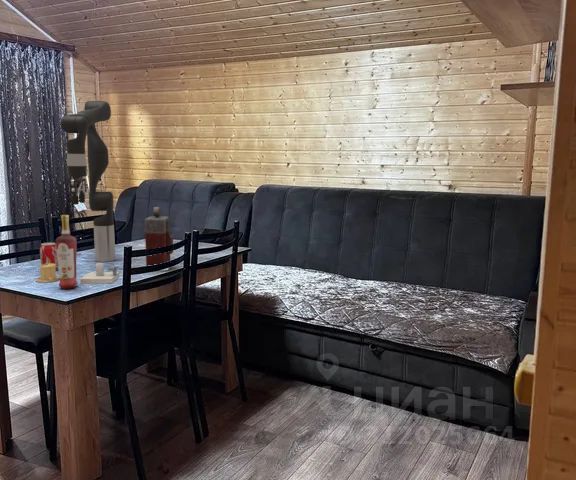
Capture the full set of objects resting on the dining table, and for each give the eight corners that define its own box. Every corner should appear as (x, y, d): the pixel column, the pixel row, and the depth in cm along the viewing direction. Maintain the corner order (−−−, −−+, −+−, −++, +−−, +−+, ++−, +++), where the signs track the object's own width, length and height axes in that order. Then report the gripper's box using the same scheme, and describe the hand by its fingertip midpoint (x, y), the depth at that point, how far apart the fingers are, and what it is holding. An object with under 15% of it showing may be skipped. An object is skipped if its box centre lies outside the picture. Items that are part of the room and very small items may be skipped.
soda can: (52, 272, 225) (50, 245, 223) (37, 271, 226) (35, 244, 224) (62, 269, 232) (60, 242, 230) (48, 268, 233) (46, 242, 231)
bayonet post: (89, 276, 218) (89, 260, 217) (119, 276, 219) (119, 260, 218) (80, 283, 206) (79, 266, 205) (112, 283, 207) (111, 266, 206)
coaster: (41, 277, 216) (41, 276, 216) (63, 277, 216) (63, 275, 216) (32, 282, 207) (32, 281, 207) (55, 282, 208) (55, 281, 208)
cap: (54, 276, 216) (53, 262, 215) (58, 279, 210) (57, 265, 209) (39, 278, 212) (38, 263, 211) (43, 281, 206) (42, 267, 205)
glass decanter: (171, 271, 230) (170, 208, 226) (146, 270, 230) (144, 207, 225) (175, 266, 239) (174, 206, 234) (151, 266, 239) (149, 205, 234)
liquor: (81, 285, 204) (78, 214, 199) (74, 290, 196) (70, 216, 192) (63, 285, 204) (59, 214, 199) (54, 289, 196) (50, 216, 192)
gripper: (80, 165, 210) (82, 205, 213) (91, 164, 224) (93, 202, 227) (61, 165, 210) (64, 205, 212) (73, 164, 224) (75, 202, 226)
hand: (79, 203), depth 219 cm, fingers open, 8 cm apart
